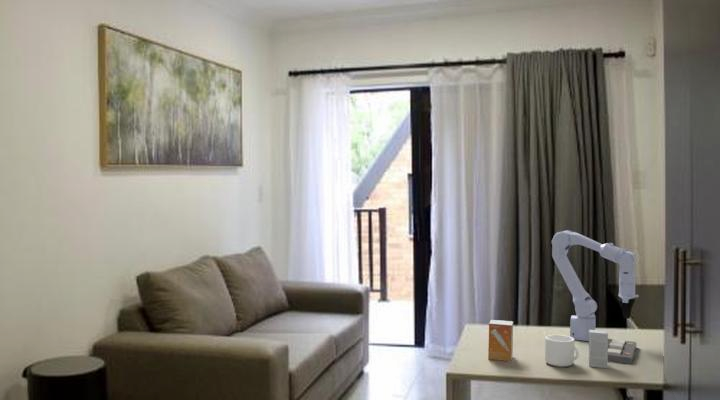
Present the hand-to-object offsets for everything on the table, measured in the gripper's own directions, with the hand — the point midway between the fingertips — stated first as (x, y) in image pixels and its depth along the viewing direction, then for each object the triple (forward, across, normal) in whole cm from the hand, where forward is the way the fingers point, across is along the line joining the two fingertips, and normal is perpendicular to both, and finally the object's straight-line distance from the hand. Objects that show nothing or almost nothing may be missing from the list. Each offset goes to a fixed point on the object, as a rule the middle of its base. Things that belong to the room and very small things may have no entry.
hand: (626, 318), depth 245 cm
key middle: (+10, -14, +2) cm, 18 cm away
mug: (+11, -37, +17) cm, 42 cm away
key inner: (+10, -7, +2) cm, 12 cm away
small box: (+10, -40, +38) cm, 56 cm away
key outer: (+11, -21, +2) cm, 24 cm away
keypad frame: (+10, -14, +2) cm, 18 cm away
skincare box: (+11, -33, +6) cm, 35 cm away
